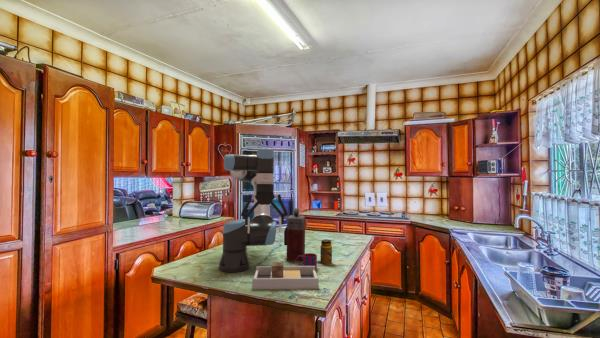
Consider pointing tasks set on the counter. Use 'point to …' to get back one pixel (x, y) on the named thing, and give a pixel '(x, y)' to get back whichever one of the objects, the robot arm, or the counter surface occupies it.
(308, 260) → the mug
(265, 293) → the counter surface
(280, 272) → the block
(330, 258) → the condiment
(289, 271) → the box
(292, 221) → the dark red tall piece
